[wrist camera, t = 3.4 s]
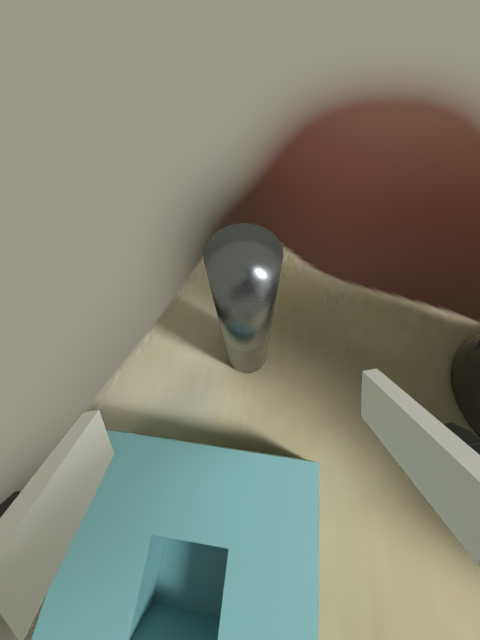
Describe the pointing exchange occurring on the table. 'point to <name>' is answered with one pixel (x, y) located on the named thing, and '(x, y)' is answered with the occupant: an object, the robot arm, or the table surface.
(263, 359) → the pin
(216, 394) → the table surface
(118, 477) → the socket block
